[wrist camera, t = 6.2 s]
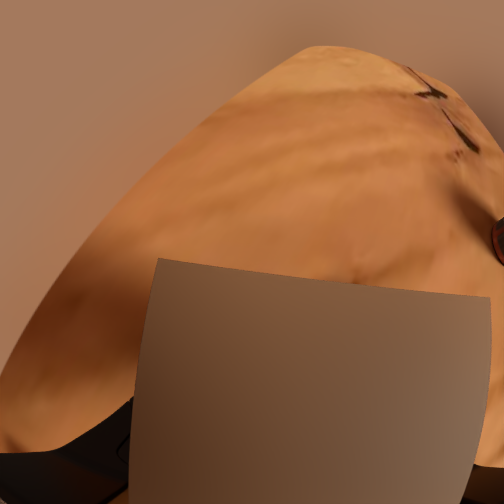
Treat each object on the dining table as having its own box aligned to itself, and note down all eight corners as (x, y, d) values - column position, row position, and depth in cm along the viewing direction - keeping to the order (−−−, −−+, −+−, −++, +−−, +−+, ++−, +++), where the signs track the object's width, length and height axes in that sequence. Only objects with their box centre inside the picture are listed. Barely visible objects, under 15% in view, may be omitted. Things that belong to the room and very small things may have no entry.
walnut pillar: (293, 421, 13) (434, 555, 1) (212, 413, 13) (133, 572, 1) (303, 345, 15) (489, 297, 3) (223, 336, 15) (158, 257, 3)
